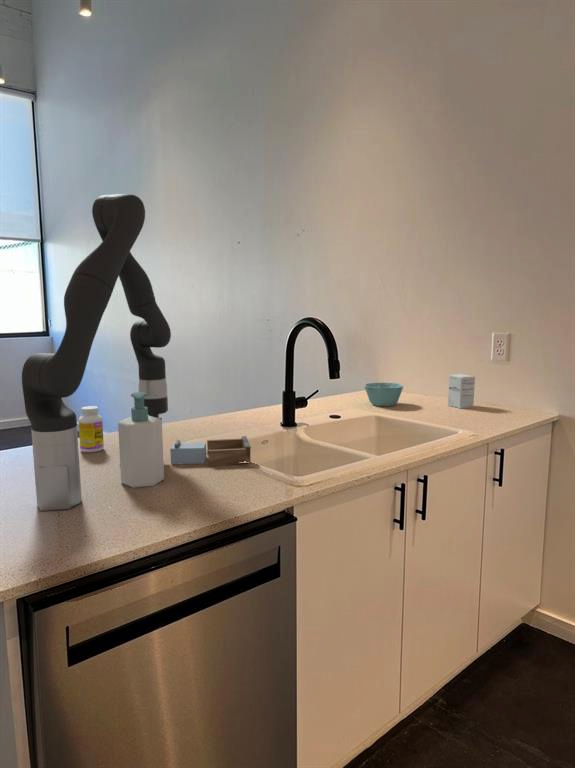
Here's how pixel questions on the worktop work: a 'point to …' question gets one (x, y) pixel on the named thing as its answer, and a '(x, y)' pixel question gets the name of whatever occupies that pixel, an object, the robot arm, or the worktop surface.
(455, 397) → the supplement box
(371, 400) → the bowl
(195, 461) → the blue slab with ledge
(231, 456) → the bay
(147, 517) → the worktop surface
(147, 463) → the soap bottle
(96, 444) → the supplement bottle
